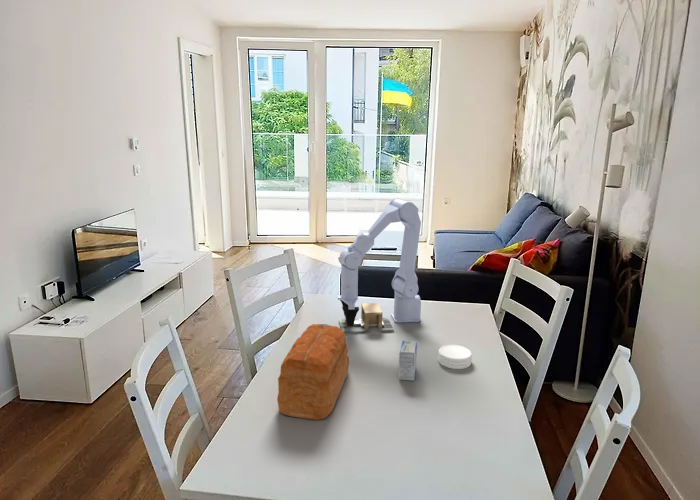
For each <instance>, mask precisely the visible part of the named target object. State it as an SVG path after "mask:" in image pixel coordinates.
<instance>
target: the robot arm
mask: <svg viewBox="0 0 700 500" xmlns="http://www.w3.org/2000/svg"><path fill="white" fill-rule="evenodd" d="M400 222H401V223H402V225H403V226H404V229H403V230H404V231H403V240H402V244H401V245H402V246H401V254H400V259H399V261H400V262H399V268H398V269H397V270H395V274H394V277H393V278H392V280H391V287H392V290H394V296H393V297H394V298H393V299H394V303H393V304H394V305H393V312H391V313H390V315H391V317H392V319H393V321H394V323H417V322H422V321H421V320H422V319H421V308H422V303H421V300H422V299H421V296H420V295H419V294H418V293H419V285H418V276H417V274H416V272H415V267H416V261H417V254H418V246H419V241H420V233H421V226H422V222H421V217H420V215H419V208H418V206H416V205H415V203H414V202H411V201H406V200H403V199H401V198H399V197H398V198H392V200H391V201H389V203H388V204H387V205H386V206H385V207H384V209H383V212H382V213H380V215H379V216H378V218H377V219H376V220H375V222H374V223H373V224H372V225H371V226H370V227H369V229H368V230H367V232H361V233H360V234H357V236H356V238H355V240H354V241H353V242H352V244H351V245H347V248H346V249H343V251H341V253H340V254H339V256H338V262H339V263H340V264H341V265H340V266H341V267H340V268H341V269H340V279H341V280H340V295H337V300H339V301H340V303H341V305H342V307H341V308H342V312H343V315H344V317H345V316H346V323H347V326H353V325H354V321H355V319H356V317H357V314H358V313H359V311H360V306H356V303H357V301H358V300H359V296H358V294H359V293H358V291H359V289H358V286H359V285H358V282H359V275H358V274H359V267H361V264H362V259H363V258H364V257H365V255H366V254H367V253H368V252H369V251H370V250H371V248H372V247H373V246H374V245H375V239H376V238H377V237H378V236H379V235H380V234H381V233H382V232H383V231H385V229H386V228H387V227H388V226H389V225H390V224H392V223H400Z"/></svg>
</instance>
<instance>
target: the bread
mask: <svg viewBox="0 0 700 500" xmlns="http://www.w3.org/2000/svg"><path fill="white" fill-rule="evenodd" d="M317 324H318V323H314V324H310V325H309V326H307V327H308V328H307V327H306V330H304V331H303V332H302V333H301V335H300V336H299V337H297V339H296V340H295V342H294V343H293V345H292V347H291V348H290V350H289V351H288V352H287V354H286V355H285V357H284V359H283V361H282V363H281V365H280V374H279V377H278V378H277V383H278V385H277V386H278V392H277V398H276V401H277V406H278V409H279V413H280V414H283V415H286V416H288V417H293V418H294V417H295V418H297V419H298V418H300V419H307V420H313V421H314V420H316V421H317V420H324V419H326V418H327V417H328V416H329V415H330V414H331V413H332V412H333V410H334V408H335V405H336V403H337V400H338V398H339V395H340V392H341V390H342V387H343V385H344V383H345V381H346V378H347V376H348V374H349V366H350V358H349V347H348V344H347V337H346V334H344V332H343V331H342V330H341V328H339V326H335V325H332V326H326V327H324V326H323V325H317Z"/></svg>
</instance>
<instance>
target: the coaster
mask: <svg viewBox="0 0 700 500" xmlns="http://www.w3.org/2000/svg"><path fill="white" fill-rule="evenodd" d="M437 352H438V354H437V362H438V363H439V364H440V365H441V366H443V367H446V368H447V369H448V368H449V369H452V370H464V369H467V368H469V367H470V366H471V365H472V360H473V358H472V357H473V354H472V353H473V352H472V350H470V349H468V348H466V347H465V346H462V345H458V344H445V345H443V346H441V347H439V348H438V351H437Z"/></svg>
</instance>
